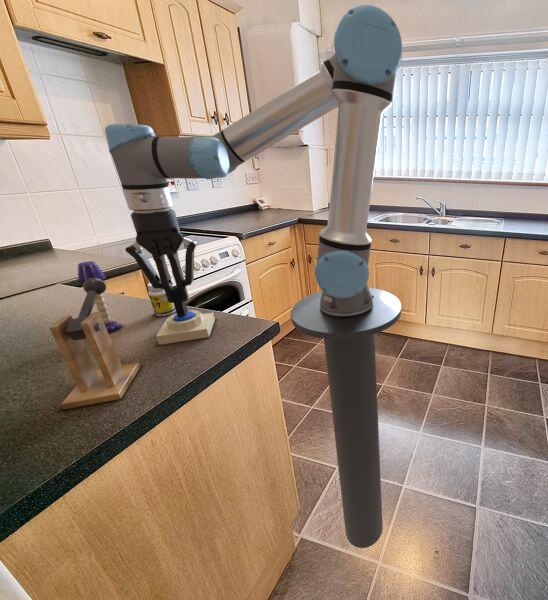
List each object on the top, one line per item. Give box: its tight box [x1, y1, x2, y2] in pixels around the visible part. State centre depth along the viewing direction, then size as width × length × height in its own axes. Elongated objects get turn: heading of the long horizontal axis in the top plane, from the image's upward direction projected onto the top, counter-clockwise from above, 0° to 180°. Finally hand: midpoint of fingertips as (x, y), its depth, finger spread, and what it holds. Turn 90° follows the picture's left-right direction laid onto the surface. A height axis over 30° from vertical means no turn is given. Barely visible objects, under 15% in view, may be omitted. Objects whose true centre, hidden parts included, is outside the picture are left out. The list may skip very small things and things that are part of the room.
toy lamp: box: [77, 260, 121, 334], centre depth 78 cm, size 5×5×17 cm
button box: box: [155, 309, 216, 346], centre depth 79 cm, size 10×9×4 cm
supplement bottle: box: [147, 282, 176, 317], centre depth 88 cm, size 5×5×8 cm
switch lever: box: [65, 278, 107, 340], centre depth 59 cm, size 13×3×3 cm, turn 20°
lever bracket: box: [48, 311, 141, 410], centre depth 58 cm, size 10×8×14 cm
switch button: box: [174, 310, 195, 322], centre depth 78 cm, size 4×4×2 cm
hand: (182, 314), depth 78 cm, fingers closed
